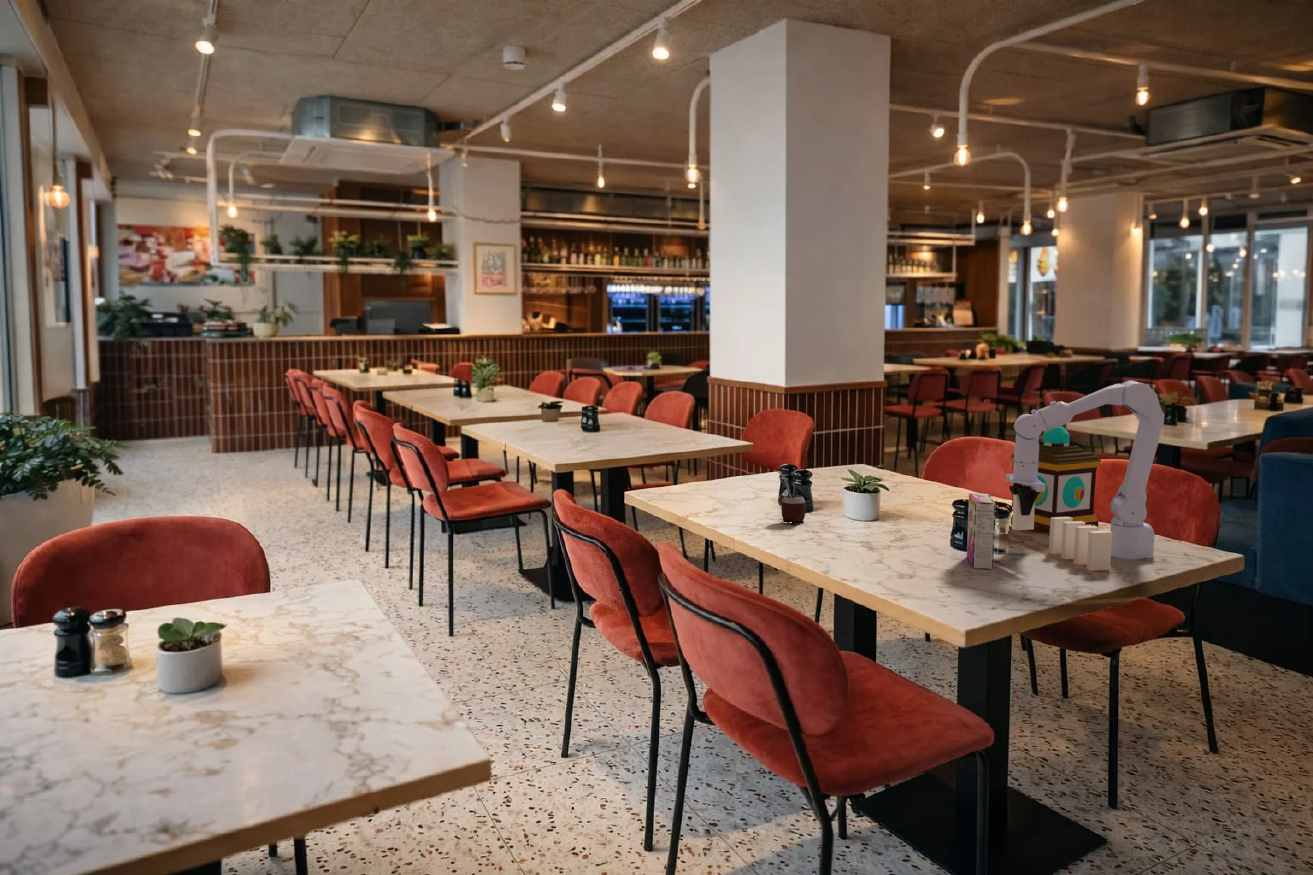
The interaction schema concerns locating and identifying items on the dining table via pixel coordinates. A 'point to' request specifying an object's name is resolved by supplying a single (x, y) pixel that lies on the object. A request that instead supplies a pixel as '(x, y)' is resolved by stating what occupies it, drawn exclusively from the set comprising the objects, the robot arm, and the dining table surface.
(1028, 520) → the domino
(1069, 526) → the domino
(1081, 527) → the domino
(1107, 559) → the domino
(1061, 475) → the decorative lantern
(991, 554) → the candy bar box
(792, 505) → the mate gourd
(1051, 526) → the domino
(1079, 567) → the walnut board
